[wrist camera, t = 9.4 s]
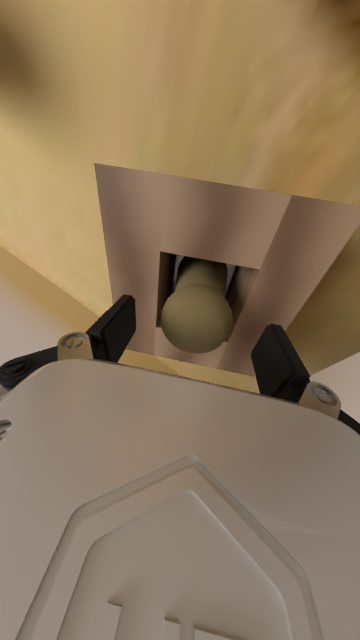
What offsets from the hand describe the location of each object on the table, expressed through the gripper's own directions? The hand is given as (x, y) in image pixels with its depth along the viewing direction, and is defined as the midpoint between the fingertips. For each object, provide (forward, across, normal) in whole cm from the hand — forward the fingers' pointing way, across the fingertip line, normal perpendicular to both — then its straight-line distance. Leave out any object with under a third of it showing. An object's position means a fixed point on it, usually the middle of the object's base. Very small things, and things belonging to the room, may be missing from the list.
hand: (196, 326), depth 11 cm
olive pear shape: (+10, 0, 0) cm, 10 cm away
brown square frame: (+11, 0, 0) cm, 11 cm away
